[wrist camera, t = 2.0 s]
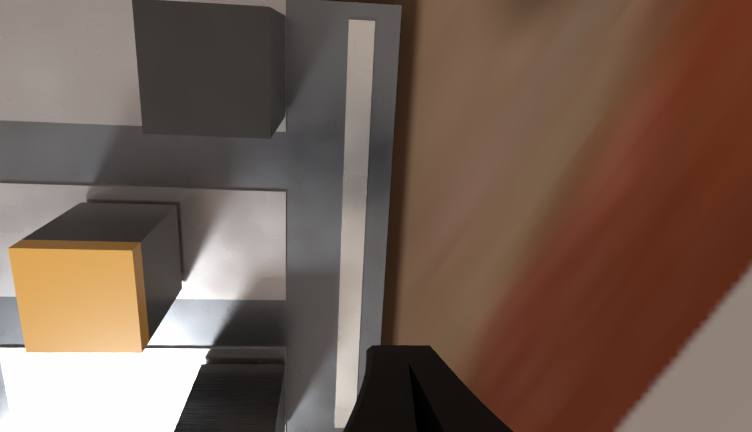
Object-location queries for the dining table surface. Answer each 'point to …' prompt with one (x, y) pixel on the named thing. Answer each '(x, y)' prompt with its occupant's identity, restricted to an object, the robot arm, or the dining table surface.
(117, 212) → the block
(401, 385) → the robot arm
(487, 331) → the dining table surface
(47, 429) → the panel
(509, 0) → the dining table surface
